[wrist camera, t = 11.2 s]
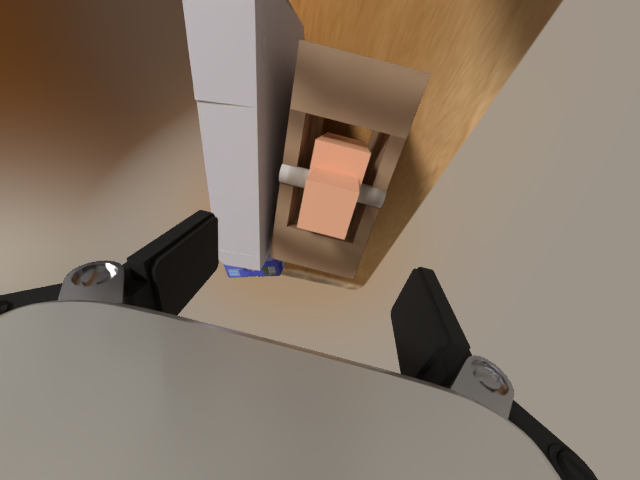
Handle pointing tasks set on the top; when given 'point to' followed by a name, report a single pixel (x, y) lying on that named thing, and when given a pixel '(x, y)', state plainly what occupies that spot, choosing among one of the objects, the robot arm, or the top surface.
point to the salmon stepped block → (333, 184)
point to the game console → (243, 114)
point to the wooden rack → (352, 108)
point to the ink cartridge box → (268, 269)
